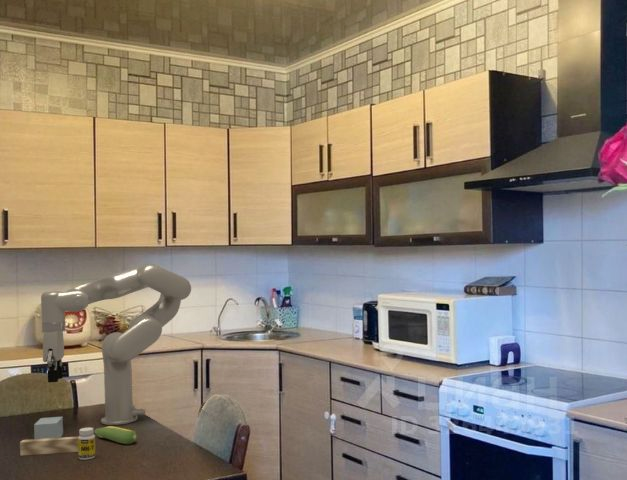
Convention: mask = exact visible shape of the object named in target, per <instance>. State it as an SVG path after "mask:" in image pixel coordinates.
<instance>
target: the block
mask: <svg viewBox="0 0 627 480" xmlns="http://www.w3.org/2000/svg"><path fill="white" fill-rule="evenodd" d="M63 418H64V417H63V416H52V417H41V418H39V420H37V421H36V422H35V423H34V425H33V431H34V433H33V434H34V435H33V436H34V438H33V439H47V438H62V436H63V435H64V419H63Z"/></svg>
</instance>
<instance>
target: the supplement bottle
mask: <svg viewBox="0 0 627 480" xmlns="http://www.w3.org/2000/svg"><path fill="white" fill-rule="evenodd" d="M78 432H79V436H77V437H78V452H77V454H78V459H79V460H83V461H86V460H92V459H94V458H95V457H96V435H95V434H94V433H95V431H94V427H81V428H80V429H79V431H78Z"/></svg>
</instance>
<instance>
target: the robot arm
mask: <svg viewBox="0 0 627 480" xmlns="http://www.w3.org/2000/svg"><path fill="white" fill-rule="evenodd" d="M147 288H150V289H151V290H154V291H156V292H157V293H160V295H159V298H158V300H157V301H156V302H155V303H154V304H153V305H151V306H150V307H149V308H148V309H145V311H144V312H141V314H138V316H136V317H134V318H133V319H132V320H131V322H129V326H128V329H126V330H125V331H124V332H123V333H122V332H119V331H116V332H112V333H109V334H108V335H107V336H106V337H105V338H104V339H103V341H102V345H101V353H102V362H103V374H104V375H103V376H104V378H103V379H104V380H103V382H104V407H105V410H104V413H105V414H104V415H105V416H104V417H102V418H101V420H100V423H101V424H103V425H106V426H118V425H126V424H131V423H134V422H136V421H137V420H138V419H139V418H138V416H145V415H146V409H145V408H144V409H143V408H136V405H134V404H133V402H134V401H133V374H132V373H133V371H132V362H131V361H132V360H133V359H135V358H136V357H137V356H139V355H140V354H142V353H144V351H146V350H147V349H148V348H150V347H151V346H152V345H154V344H155V343H156V342H158V340H159V339H160V337H161V336H162V332H163V327H165V326H166V325H167V324H168V323H169V322H171V320H173V318H175V317H176V315H177V314H178V312H179V309H180V306H181V303H182V301H183V300H185V299H187V298H189V296H190V294H191V293H192V285H191V282H190V281H189V280H188V279H187V278H186V277H183V276H181V275H179V274H176V273H174V272H172V271H170V270H167V269H166V268H163V267H162V266H159V265H156V264H152V263H149V264H148V263H147V264H146V263H145V264H141V265H138V266H134V267H132V268H128V269H125V270H123V271H120V272H117V273H114V274H111V275H108V276H105V277H102V278H100V279H97V280H93V281H91V282H87V283H85V284H84V283H83V284H82V285H78V286H76V287H73V288H70V289H68V290H67V291H58V290H57V291H56V290H55V291H54V290H53V291H45V292H43V293H42V294H41V296H40V305H41V307H40V309H41V332H42V333H41V334H43V338H42V339H43V341H42V361H43V362H44V363H46V364H47V370H46V371H47V382H48V383H57V382H59V380H61V379H63V376H64V375H63V374H64V373H63V360H62V359H63V358H64V356H65V341H64V332H66V312H78V313H79V312H82V311H84V310H85V309H87V308H88V306H89V305H91V304H94V303H97V302H101V301H106V300H115V299H119V298H122V297H124V296H127V295H130V294H133V293H135V292H139V291H141V290H144V289H147Z"/></svg>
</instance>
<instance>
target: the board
mask: <svg viewBox="0 0 627 480" xmlns="http://www.w3.org/2000/svg"><path fill="white" fill-rule="evenodd" d="M78 437H79V436H69V437H68V436H65V437H64V436H63V437H60V438H47V439H34V438H33V439H23V440H21V441H20V442H19V449H20V450H19V452H20V456H21V457H22V456H35V455H51V454H52V455H54V454H65V453H78Z"/></svg>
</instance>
